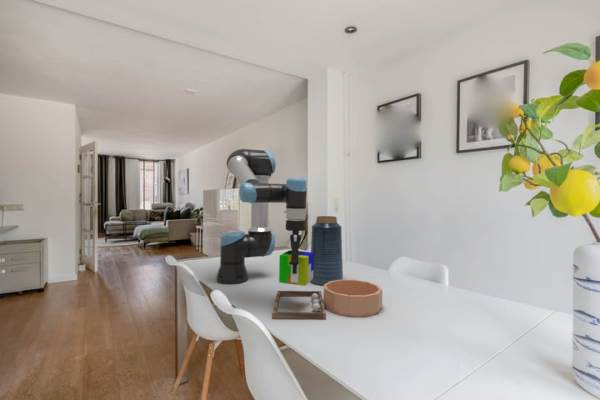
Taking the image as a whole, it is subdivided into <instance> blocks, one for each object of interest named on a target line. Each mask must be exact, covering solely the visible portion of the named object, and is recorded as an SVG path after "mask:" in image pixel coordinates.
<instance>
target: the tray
mask: <svg viewBox="0 0 600 400" xmlns="http://www.w3.org/2000/svg"><path fill="white" fill-rule="evenodd" d="M313 293H317V294H318V296H319V299H318V300H319V301H320V306H321V309H320V312H319V311H318V312H315V311H278V307H279V302H280V298H281V297H288V298H289V297H297V298H298V297H299V298H300V297H303V298H304V297H308V298H311V296H312V294H313ZM271 318H272V320H327V311H326V308H325V307H324V297H323V293H322V291H321V290H277V292H276V296H275V299H274V304H273V308H272V312H271Z"/></svg>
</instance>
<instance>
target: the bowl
mask: <svg viewBox="0 0 600 400" xmlns="http://www.w3.org/2000/svg"><path fill="white" fill-rule="evenodd" d="M323 302H324V307H325V310H327V311H329V312H330V313H333V314H336V315H339V316H344V317H350V318H351V317H353V318H354V317H355V318H362V317H371V316H374V315H377V314H378V313H380V312H381V310H382V307H383V289H382V287H381V286H380V285H378V284H375V283H373V282H370V281H367V280H358V279H343V280H335V281H329V282H328V283H326V284H324V285H323Z"/></svg>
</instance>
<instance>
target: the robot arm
mask: <svg viewBox="0 0 600 400" xmlns="http://www.w3.org/2000/svg"><path fill="white" fill-rule="evenodd" d="M276 166H277V164H276V159H275V156H274V154H273V152H271V151H268V150H264V149H263V150H261V149H247V148H239V149H236V150H234V151H232V152H231V153H230V154H229V156H228V157H227V160H226V168H227V170H228V172H229V173H231V174H232V175H233V176H234V177H235V179H236V180H237V182H238V185H239V189H238V190H239V192H238V193H239V195H238V196H239V199H240V201H241V202H242V203H249V204H250V205H251V210H250V211H251V213H250V216H251V218H250V219H251V220H250V223H251V224H250V225H251V227H250V228H248V230H247V233H246V232H245V231H242V230H241V231H231V232H227V233H224V234H221V237H220V242H219V243H220V244H219V247H220V259H219V263H220V265H219V268H218V271H217V273H216V274H217V275H216V282H217V283H219V284H222V285H236V284H241V283H245V282H247V281H248V280H249V274H248V271H247V266H246V264H245V262H246V261H245V260H246V259H245V258H247V259H248V258H258V257H262V258H263V257H268V256H271V255H273V252H274V250H275V247H276V246H275V245H276V238H275V237H276V236H275V234H274V233H273V232H272V229H271V228H270V227H269V203H274V204H275V203H276V204H277V203H279V204H280V203H282V204H283V203H284V204H286V205H285V210H284V213H285V218H286V219H287V220H285V230H286V231H289V232H291V233H292V234H290V235H289V240H290V247H291V250H292V254H291V262H289V264H290V265H291V283H298V270H299V262H298V251H299V249H300V247H301V241H302V240H301V239H302V236H301V234H300V232H303V231H306V230H307V229H306V228H307V227H306V226H307V221H306V219H307V190H308V188H307V180H306V179H305V178H297V177H295V178H292V177H291V178H287V179H286V183H269V180H270V179H271V178H272V175H273V174H275V172H276V169H277V168H276Z"/></svg>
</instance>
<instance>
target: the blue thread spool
mask: <svg viewBox="0 0 600 400" xmlns="http://www.w3.org/2000/svg"><path fill="white" fill-rule="evenodd" d="M337 217H338V216H332V215H331V216H330V215H326V216H325V215H320V216H319V215H318V216H316V219H315V223H314V224H312V226H311V239H310V241H311V242H310V252H313V253H314V265H313V279H312V280H311V281H310V282H311V283H312V284H314V285H318V286H324V284H326V283H328V282H329V281H335V280H344V275H343V274H344V271H343V270H344V269H343V265H344V264H343V263H344V262H343V244H342V243H343V241H342V240H343V239H342V238H343V237H342V236H343V235H342V231H343V230H342V228H343V226H342V225H340V224H339V223H338V218H337Z"/></svg>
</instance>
